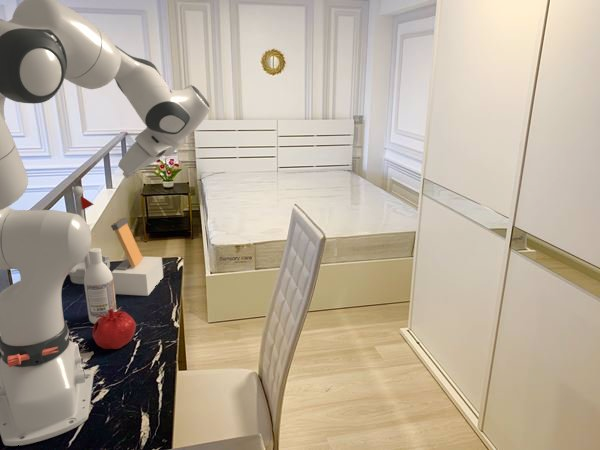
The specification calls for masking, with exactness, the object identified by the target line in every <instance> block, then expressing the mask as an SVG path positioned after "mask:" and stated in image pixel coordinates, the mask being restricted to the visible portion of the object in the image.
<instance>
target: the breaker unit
mask: <svg viewBox="0 0 600 450" xmlns="http://www.w3.org/2000/svg"><path fill="white" fill-rule="evenodd" d="M142 257H143V259H142V260H141V261H140V262H139V263H138V264H137V265H136V266H135V267H131V265H130V263H129V260H128V258H127V257H126V258H125V259H124V260H123V261H122V262H121V263H119V265H117V266H116V267H115V268H114V269H113V270H112V271H111V273H112V277H113V284H114V292H115V295H127V296H128V295H129V296H146V297H147V296H149V295H150V294H151V292H153V291H154V289H155V288H156V287H157V286H158V284H159V283H160V282H161V281H162V279H163V278H164V269H163V268H164V267H163V258H162V257H161V256H143V255H142ZM160 280H161V281H160ZM156 285H157V286H156ZM155 286H156V287H155Z"/></svg>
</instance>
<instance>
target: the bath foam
mask: <svg viewBox="0 0 600 450" xmlns="http://www.w3.org/2000/svg"><path fill="white" fill-rule="evenodd" d="M102 256H103V255H102V249H101V248H100V247H93V248H90V250H89V258H90V265H89V266H88V268H87V270H86V272H85V275H84V284H83V287H84V292H85V294H84V295H85V300H86V306H87V315H88V320H89V322H90V323H91V324H95V323H96V322H97V320H98V319H99V318H102V317H98V316H99V315H102V316H106V315H108V310H110V309H113V312H116V311H118V309H117V304H116V303H117V302H116V294H115V292H114V284H113V277H112V273H111V272H112V271H111V270H110V267H109V268H108V267H107V266H106V265H105V264H104V263H103V262H102ZM96 317H98V318H96Z"/></svg>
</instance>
